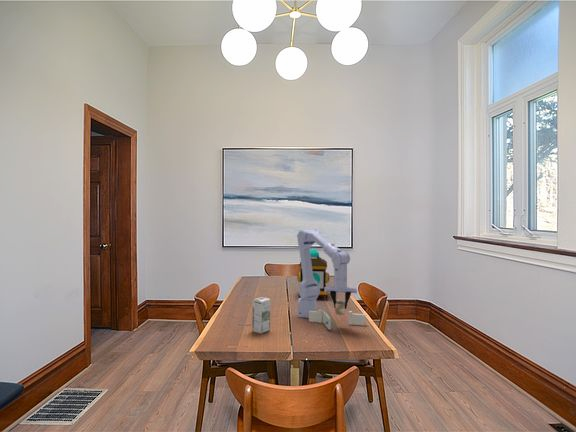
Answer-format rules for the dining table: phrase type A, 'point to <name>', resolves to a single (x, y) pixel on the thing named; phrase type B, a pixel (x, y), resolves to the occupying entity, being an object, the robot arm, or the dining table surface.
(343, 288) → the robot arm
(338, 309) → the birch block
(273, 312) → the dining table surface
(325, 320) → the door
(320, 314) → the wall frame
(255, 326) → the syrup box
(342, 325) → the dining table surface
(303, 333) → the dining table surface
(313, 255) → the decorative lantern
